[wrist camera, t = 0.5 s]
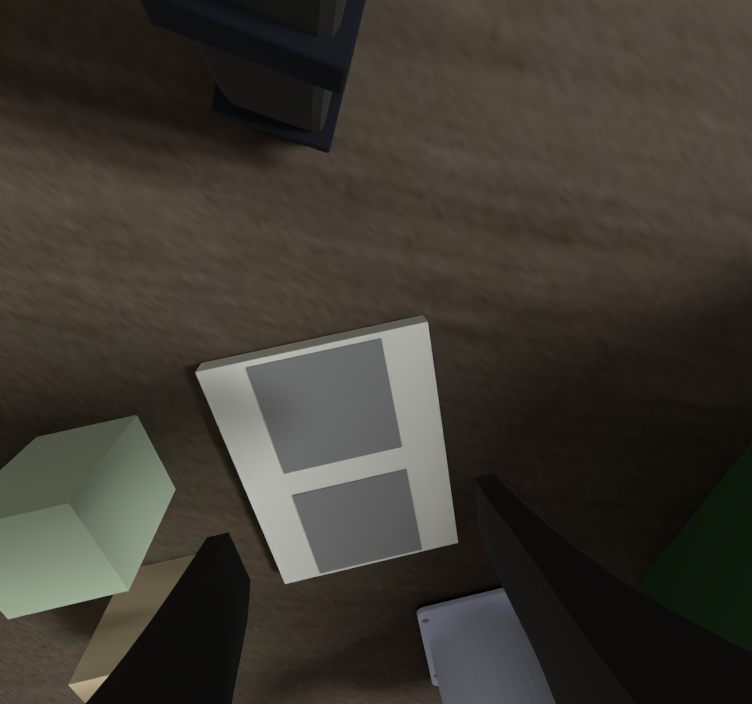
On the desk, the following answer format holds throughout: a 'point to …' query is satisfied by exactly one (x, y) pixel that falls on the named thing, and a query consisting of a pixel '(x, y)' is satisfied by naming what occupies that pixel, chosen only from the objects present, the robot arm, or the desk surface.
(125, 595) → the wooden toy cube
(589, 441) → the desk surface
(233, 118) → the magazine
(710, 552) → the binder
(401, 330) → the board
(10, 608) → the sage post
